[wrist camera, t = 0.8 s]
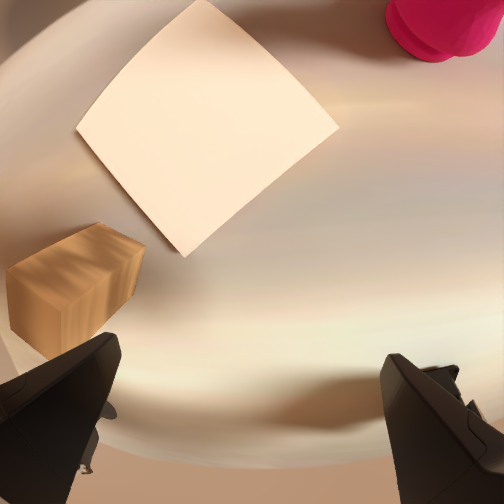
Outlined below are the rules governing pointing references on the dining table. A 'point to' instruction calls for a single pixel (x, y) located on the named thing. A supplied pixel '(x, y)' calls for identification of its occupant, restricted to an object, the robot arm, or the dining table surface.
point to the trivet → (201, 124)
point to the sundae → (94, 441)
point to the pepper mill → (443, 26)
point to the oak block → (72, 288)
